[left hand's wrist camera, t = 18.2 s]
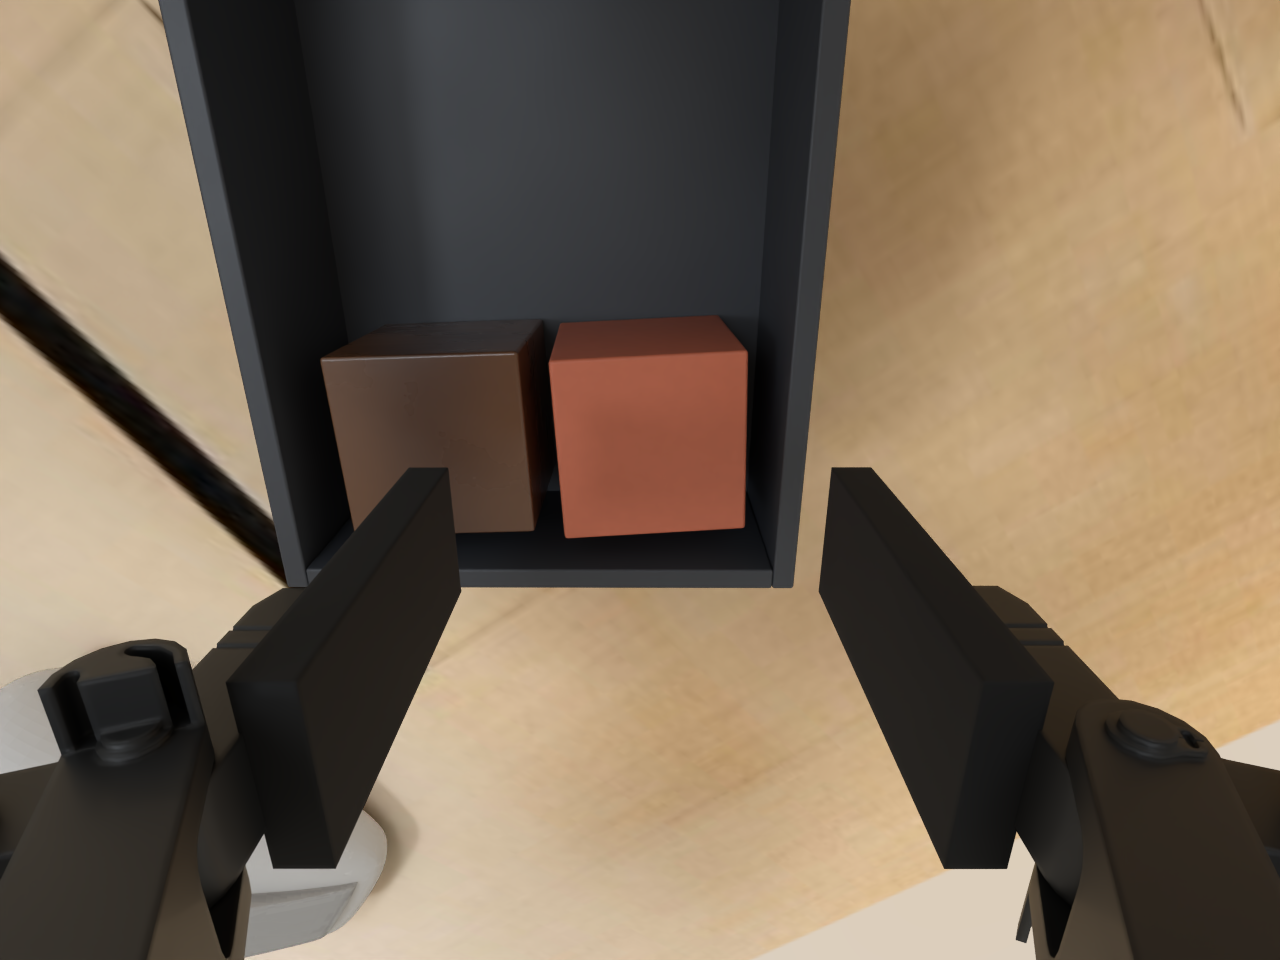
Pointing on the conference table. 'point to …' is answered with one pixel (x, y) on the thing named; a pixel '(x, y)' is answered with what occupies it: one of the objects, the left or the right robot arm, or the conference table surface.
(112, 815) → the left robot arm
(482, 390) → the walnut block
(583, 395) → the terracotta block
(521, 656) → the conference table surface
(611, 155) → the tote
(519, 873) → the conference table surface
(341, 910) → the projector
